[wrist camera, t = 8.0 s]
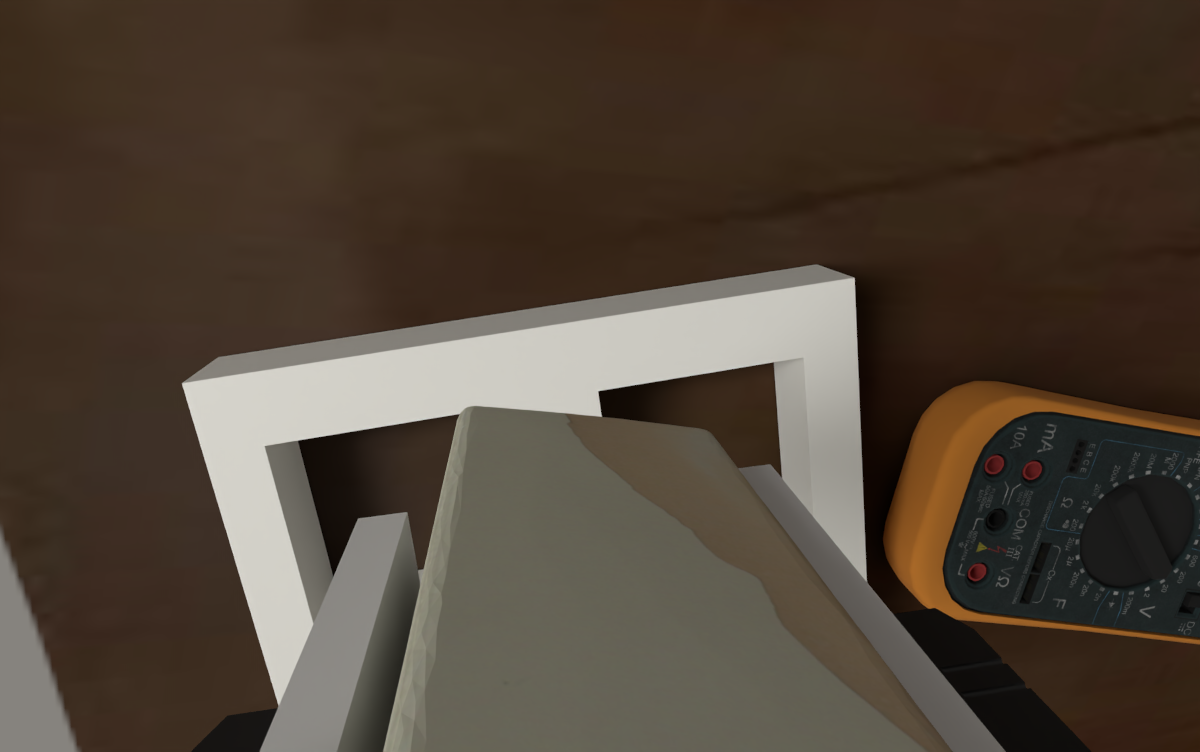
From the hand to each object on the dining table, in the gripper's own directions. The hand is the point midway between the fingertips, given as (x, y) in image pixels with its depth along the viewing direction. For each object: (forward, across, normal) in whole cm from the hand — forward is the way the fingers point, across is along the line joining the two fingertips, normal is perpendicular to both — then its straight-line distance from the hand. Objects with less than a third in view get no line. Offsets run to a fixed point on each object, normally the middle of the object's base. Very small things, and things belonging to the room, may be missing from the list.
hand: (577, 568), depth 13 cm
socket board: (+14, 0, -6) cm, 15 cm away
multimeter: (+15, +21, -9) cm, 27 cm away
